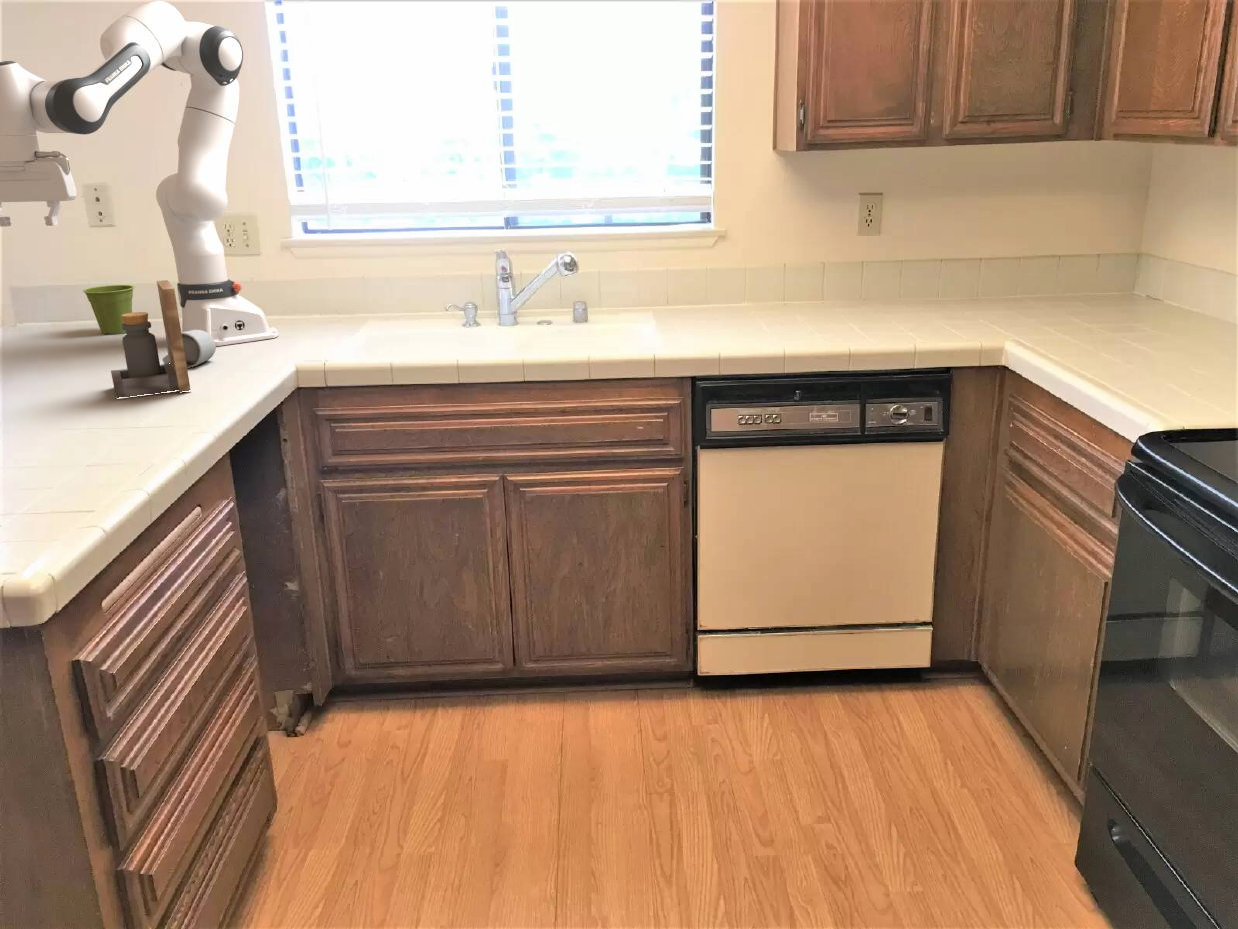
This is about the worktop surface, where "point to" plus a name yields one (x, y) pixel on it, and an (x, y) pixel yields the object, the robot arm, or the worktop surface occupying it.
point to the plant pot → (110, 306)
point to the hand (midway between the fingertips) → (28, 225)
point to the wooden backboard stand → (177, 369)
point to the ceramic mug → (196, 347)
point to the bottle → (140, 346)
